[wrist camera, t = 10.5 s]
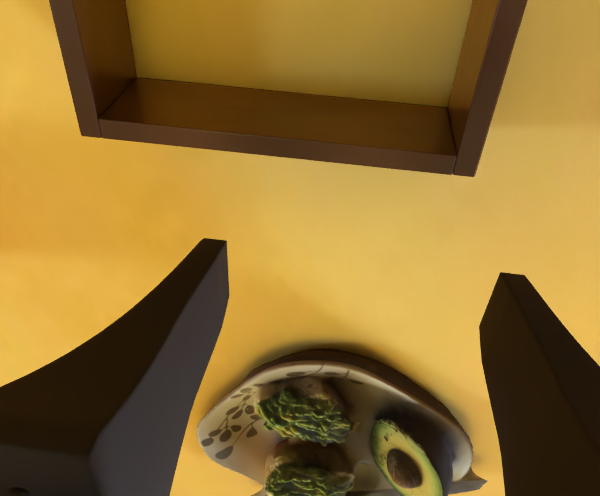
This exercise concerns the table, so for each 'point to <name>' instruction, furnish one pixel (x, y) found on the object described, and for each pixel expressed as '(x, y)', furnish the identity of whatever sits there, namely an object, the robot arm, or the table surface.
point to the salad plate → (338, 431)
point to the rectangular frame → (284, 100)
